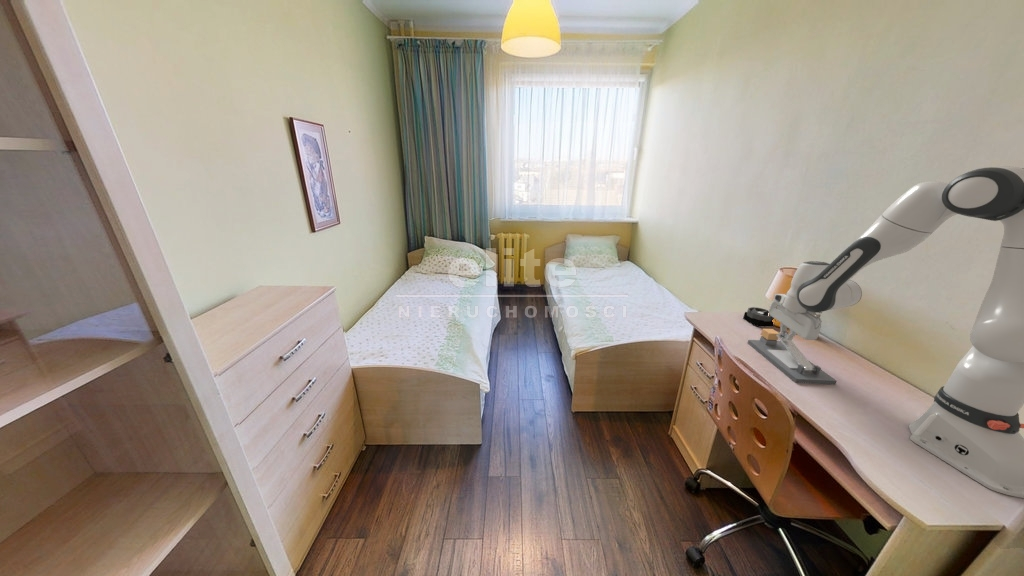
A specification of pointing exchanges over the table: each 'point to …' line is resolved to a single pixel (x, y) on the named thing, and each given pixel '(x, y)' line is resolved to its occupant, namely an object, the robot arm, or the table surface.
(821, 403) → the table surface
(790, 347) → the grey metal bar
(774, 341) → the socket frame
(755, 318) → the cpu cooler
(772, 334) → the tan small block
